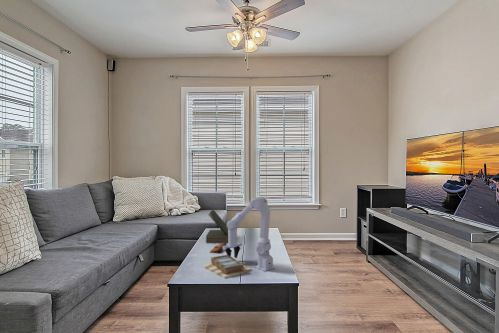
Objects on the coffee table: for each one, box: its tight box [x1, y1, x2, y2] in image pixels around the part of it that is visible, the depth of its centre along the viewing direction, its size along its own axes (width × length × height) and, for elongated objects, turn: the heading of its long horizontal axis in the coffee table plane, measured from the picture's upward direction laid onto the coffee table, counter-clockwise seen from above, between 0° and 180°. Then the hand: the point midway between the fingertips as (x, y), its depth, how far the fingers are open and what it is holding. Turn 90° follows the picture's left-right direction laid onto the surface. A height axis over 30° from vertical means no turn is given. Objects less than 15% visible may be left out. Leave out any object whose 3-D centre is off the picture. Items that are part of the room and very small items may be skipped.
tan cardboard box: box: [210, 254, 245, 274], centre depth 182 cm, size 22×12×4 cm, turn 29°
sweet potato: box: [209, 242, 227, 254], centre depth 222 cm, size 18×7×7 cm
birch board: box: [202, 262, 252, 279], centre depth 182 cm, size 24×20×1 cm
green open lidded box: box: [205, 209, 228, 244], centre depth 251 cm, size 23×20×25 cm
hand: (232, 258), depth 195 cm, fingers open, 5 cm apart
